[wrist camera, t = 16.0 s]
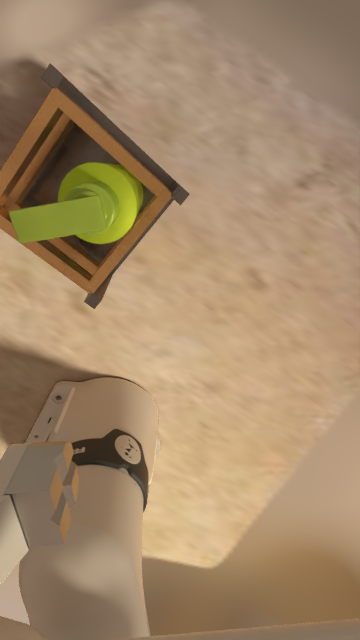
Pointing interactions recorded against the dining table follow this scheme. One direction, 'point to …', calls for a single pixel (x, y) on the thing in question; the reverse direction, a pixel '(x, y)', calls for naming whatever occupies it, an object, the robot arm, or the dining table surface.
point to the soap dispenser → (85, 206)
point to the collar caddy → (58, 160)
